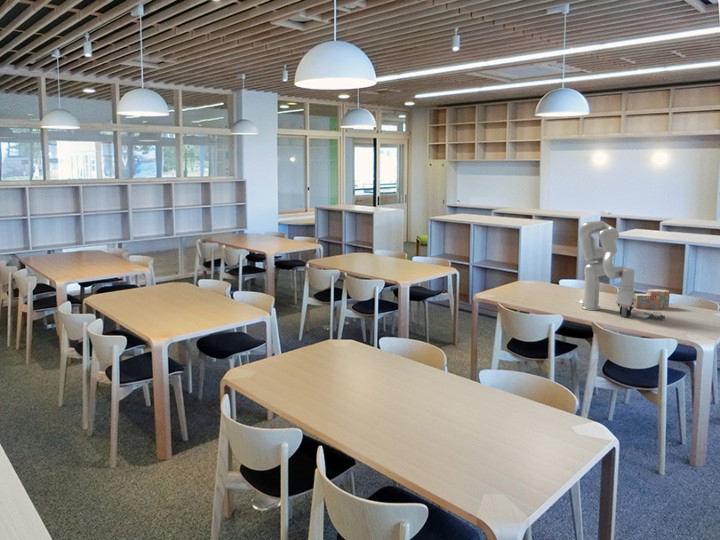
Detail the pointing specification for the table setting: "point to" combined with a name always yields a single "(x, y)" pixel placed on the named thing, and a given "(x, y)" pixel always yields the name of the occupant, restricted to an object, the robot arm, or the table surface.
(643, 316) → the picture board
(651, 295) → the stack of blocks
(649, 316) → the button housing
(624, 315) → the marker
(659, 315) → the button
